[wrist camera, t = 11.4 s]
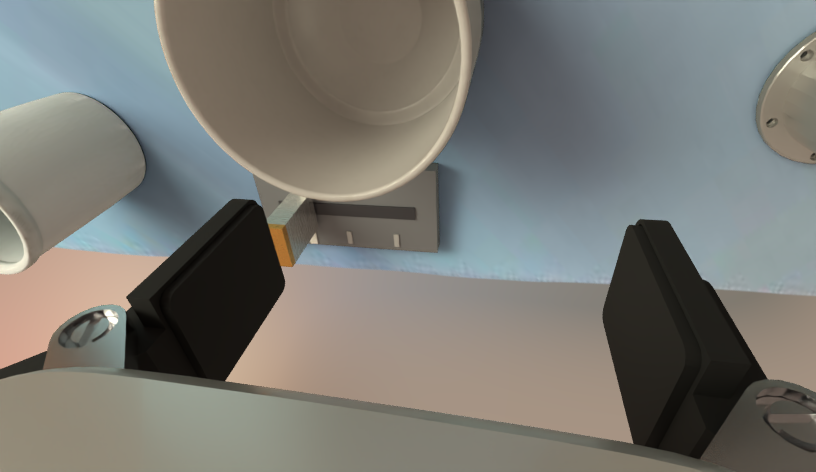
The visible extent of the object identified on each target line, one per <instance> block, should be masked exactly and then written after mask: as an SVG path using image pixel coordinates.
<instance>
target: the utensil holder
mask: <svg viewBox="0 0 816 472" xmlns="http://www.w3.org/2000/svg"><path fill="white" fill-rule="evenodd" d="M145 170H146V165H145V159H144V155H143V152H142V149H141V147H140V145H139V143H138V141H137V139H136V138H135V136H134V135H133V133H132V132H131V130H130V129H129V128H128V127H127V125H126V124H125V123H124V122H123V121H122V120H121V119H120V118H119V117H118V116H117V115H116V114H115V113H113V112H112V111H111V110H110V109H108V108H107V107H106V106H104V105H103V104H101V103H99V102H98V101H96V100H94V99H92V98H90V97H87V96H85V95H82V94H78V93H72V92H65V93H59V94H55V95H52V96H49V97H45V98H42V99H38V100H35V101H31V102H28V103H25V104H22V105H19V106H15V107H12V108H9V109H6V110H3V111H0V274H16V273H20V272H22V271H24V270H26V269H27V268H29V267H30V266H32V265H33V264H34V263H35V262H36V261H37V260H38V258H39V257H40V256H41V255H42V254H44V253H45V252H46V251H48V250H50V249H51V248H52V247H54V246H55V245H57V244H58V243H60V242H61V241H62V240H64V239H65V238H67V237H68V236H70V235H71V234H73V233H74V232H75V231H77V230H78V229H80V228H81V227H83V226H84V225H86V224H87V223H88V222H90V221H91V220H93V219H94V218H96V217H97V216H98V215H100V214H101V213H103V212H104V211H105V210H107V209H108V208H110V207H111V206H113V205H114V204H115V203H117V202H118V201H119V200H121V199H122V198H123V197H124V196H126V195H127V194H129V193H130V192H131V191H133V190H134V189H135V188H136V187H137V186H139V185H140V184H141V182H142V180H143V178H144V176H145Z"/></svg>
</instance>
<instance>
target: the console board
mask: <svg viewBox="0 0 816 472" xmlns="http://www.w3.org/2000/svg"><path fill="white" fill-rule="evenodd" d="M253 177H254V180H255V183H256V187H257V190H258V193H259V196H260V200H261V203H262V206H263V210H264V213H265V216H266V219H267V218H268V217H269V216H270V215H271V214H272V213H273V212H274V210H275V209H276V208H277V207H278V206H279V205H280V204H281V202H282V201H283V200H284V199H285V198H286V197H287V196H288V194H289V193H290V192H287V191H285V190H282V189H280V188H278V187H276V186H273V185H271V184H270V183H268V182H266V181H264V180H262V179H260V178H259V177H257V176H256V175H254V174H253ZM313 204H314V208H315V213H316V217H317V222H318V226H319V228H318V229H317V231H316V232H315V234H314V235H313V237H312V238H311V240H310V241H309V243H308V244H322V245H336V246H350V247H364V248H378V249H392V250H406V251H420V252H434V253H438V248H439V244H440V237H439V184H438V163H431V164H430V165H429V166H428V167H427V168H426V169H425V170H424V171H423V172H422V173H420V174H419V175H418V176H417V177H415V178H414V179H413V180H411V181H410V182H408V183H407V184H405V185H404V186H402V187H400V188H398V189H396V190H394V191H392V192H389V193H386V194H384V195H381V196H378V197H374V198H371V199H366V200H360V201H350V202H331V201H321V200H316V199H313Z"/></svg>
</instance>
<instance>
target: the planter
mask: <svg viewBox="0 0 816 472" xmlns="http://www.w3.org/2000/svg"><path fill="white" fill-rule="evenodd" d="M154 8H155V17H156V23H157V29H158V33H159V38H160V42H161V46H162V49H163V52H164V55H165V58H166V61H167V64H168V67H169V69H170V71H171V74H172V76H173V79H174V81H175V83H176V85H177V87H178V89H179V91H180V93H181V95H182V97H183V98H184V100H185V102H186V103H187V105H188V107H189V108H190V110H191V111H192V113H193V114H194V116H195V117H196V119H197V120H198V122H199V123H200V124H201V125H202V127H203V128H204V129H205V131H206V132H207V133H208V134H209V135H210V136H211V138H212V139H213V140H214V141H215V142H216V143H217V144H218V145H219V146H220V147H221V148H222V149H223V150H224V151H225V152H226V153H227V154H228V155H229V156H230V157H232V158H233V159H234V160H235V161H236V162H237V163H239V164H240V165H241V166H243V167H244V168H245V169H247V170H248V171H250V172H251V173H253V174H254V175H256V176H257V177H259V178H260V179H262V180H264V181H266V182H268V183H270V184H271V185H273V186H276V187H278V188H280V189H282V190H285V191H287V192H290V193H293V194H296V195H299V196H303V197H306V198H310V199H316V200H321V201H331V202H350V201H360V200H366V199H371V198H374V197H378V196H381V195H384V194H386V193H389V192H392V191H394V190H396V189H398V188H400V187H402V186H404V185H405V184H407V183H408V182H410V181H411V180H413V179H414V178H415V177H417V176H418V175H419V174H420V173H422V172H423V171H424V170H425V169H426V168H427V167H428V166H429V165H430V164H431V163H432V162H433V161H434V160H435V159H436V157H437V156H438V155H439V154H440V152H441V151H442V150H443V149H444V147H445V146H446V144H447V142H448V141H449V139H450V138H451V136H452V134H453V132H454V130H455V128H456V126H457V124H458V122H459V119H460V117H461V114H462V111H463V109H464V105H465V102H466V98H467V95H468V91H469V87H470V83H471V80H472V76H473V72H474V68H475V64H476V61H477V57H478V53H479V49H480V45H481V40H482V35H483V26H484V0H154Z"/></svg>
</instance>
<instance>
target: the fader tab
mask: <svg viewBox="0 0 816 472" xmlns="http://www.w3.org/2000/svg"><path fill="white" fill-rule="evenodd" d="M267 223H268V226H269V229H270V233H271V236H272V239H273V242H274V246H275V249H276V252H277V256H278V259H279V262H280V265H281V266H286V267H293V266H294V264H295V263H296V261H297V260H298V258H299V257H300V255H301V254H302V252H303V251H304V249H305V248H306V246H307V244H308V243H309V241H310V240H311V238H312V237H313V235H314V234H315V232H316V231H317V229H318V228H319V226H318V222H317V217H316V213H315V208H314V204H313V199H310V198H306V197H303V196H299V195H296V194H293V193H289V194H288V196H287V197H286V198H285V199H284V200H283V201H282V202H281V204H280V205H279V206H278V207H277V208H276V209H275V210H274V212H273V213H272V214H271V215H270V216H269V217H268V218H267Z"/></svg>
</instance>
